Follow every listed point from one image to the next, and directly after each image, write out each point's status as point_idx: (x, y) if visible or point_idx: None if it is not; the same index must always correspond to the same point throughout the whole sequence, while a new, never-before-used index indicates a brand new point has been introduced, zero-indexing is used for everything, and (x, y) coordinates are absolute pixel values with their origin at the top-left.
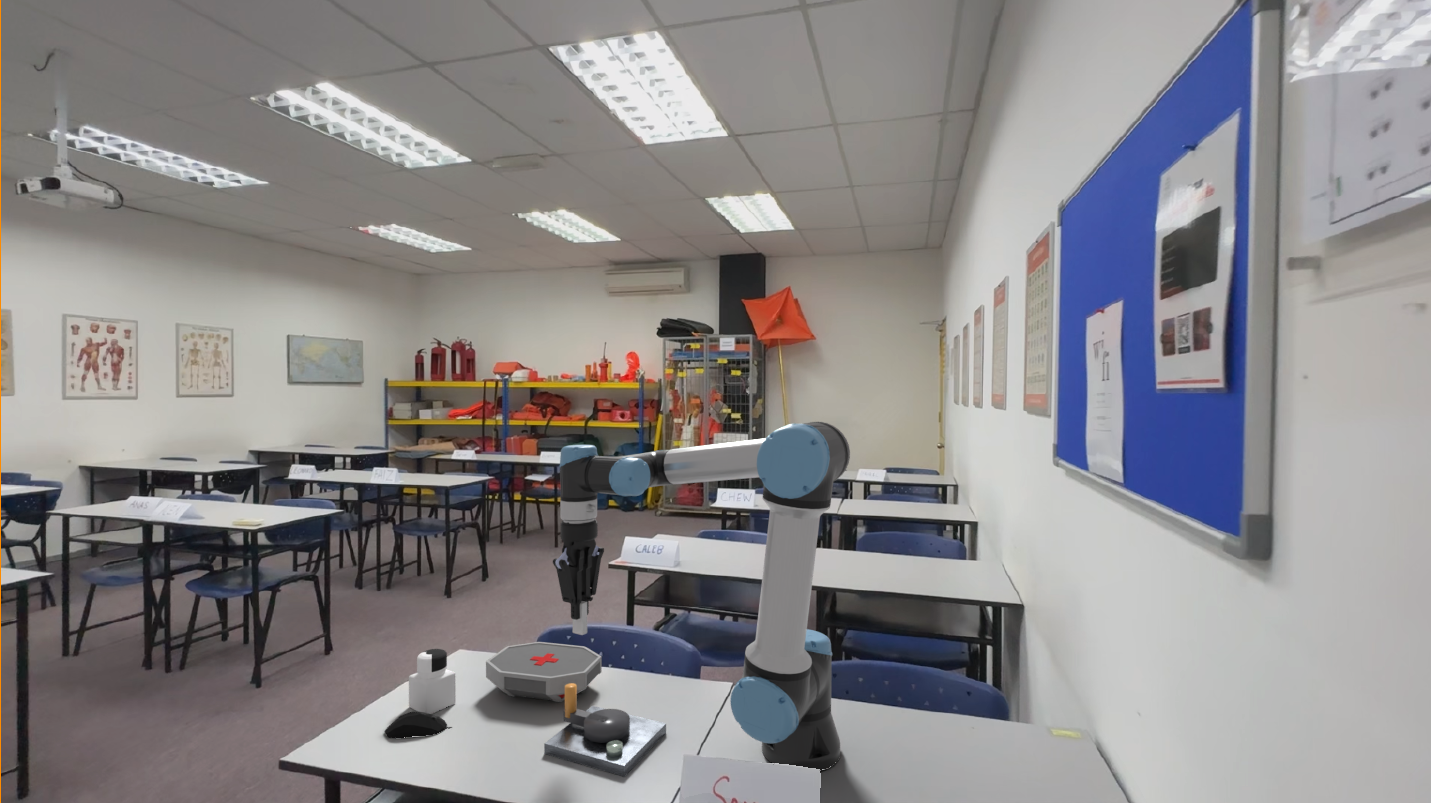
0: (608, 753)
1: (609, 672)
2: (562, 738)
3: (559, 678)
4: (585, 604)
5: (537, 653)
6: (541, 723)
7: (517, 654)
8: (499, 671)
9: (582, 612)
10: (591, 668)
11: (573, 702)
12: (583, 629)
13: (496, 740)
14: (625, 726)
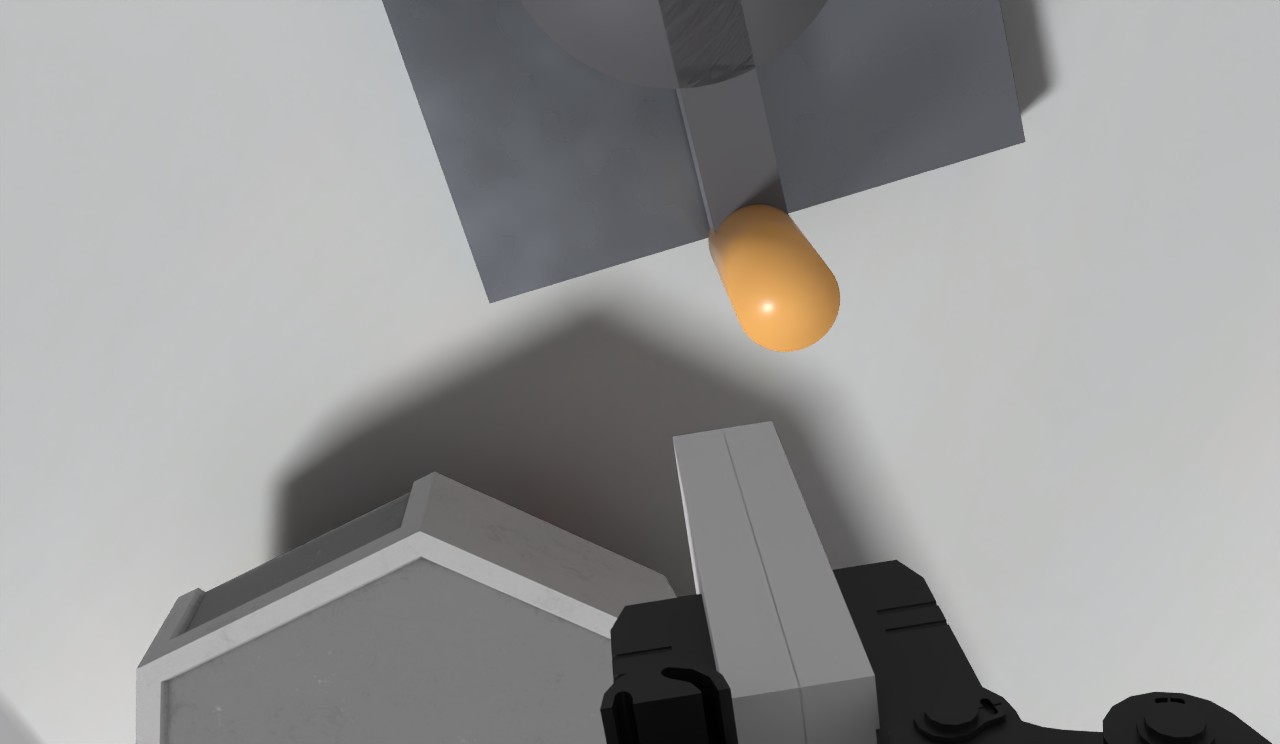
0: None
1: (36, 669)
2: (914, 97)
3: (611, 605)
4: (768, 664)
5: None
6: (784, 441)
7: None
8: None
9: (825, 583)
10: (318, 572)
11: (778, 221)
12: (754, 456)
13: (1069, 472)
14: None
